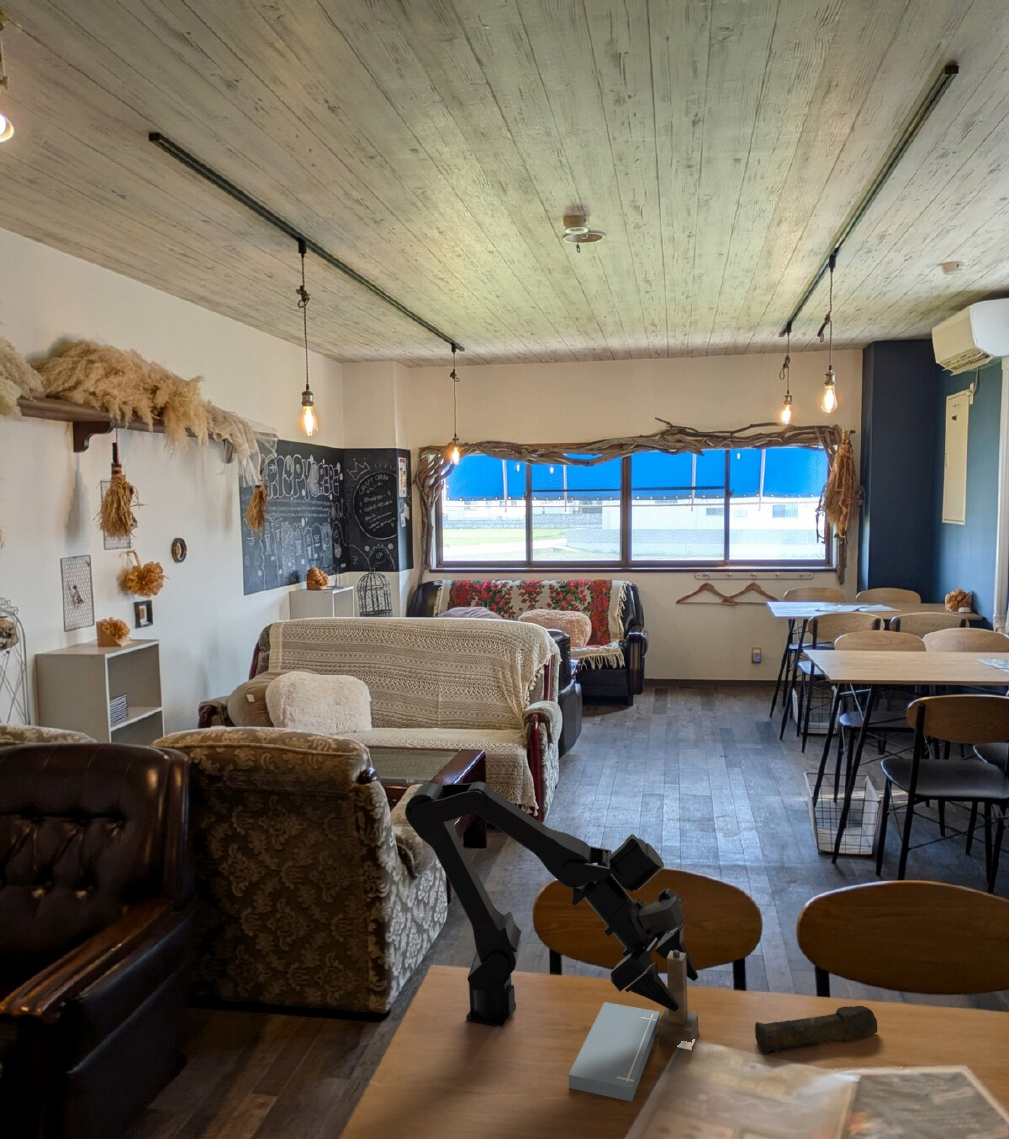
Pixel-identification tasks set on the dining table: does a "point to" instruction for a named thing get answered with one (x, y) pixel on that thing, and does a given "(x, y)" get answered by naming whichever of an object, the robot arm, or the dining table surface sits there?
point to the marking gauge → (681, 1021)
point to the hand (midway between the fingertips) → (687, 993)
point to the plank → (615, 1051)
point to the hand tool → (817, 1029)
